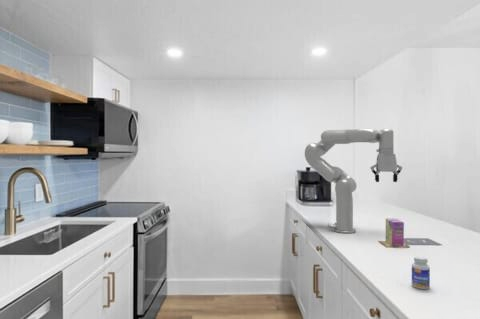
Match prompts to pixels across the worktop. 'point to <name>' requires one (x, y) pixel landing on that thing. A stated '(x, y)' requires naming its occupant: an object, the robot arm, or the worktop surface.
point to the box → (394, 232)
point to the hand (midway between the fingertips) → (386, 181)
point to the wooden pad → (392, 246)
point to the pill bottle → (420, 273)
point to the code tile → (420, 241)
